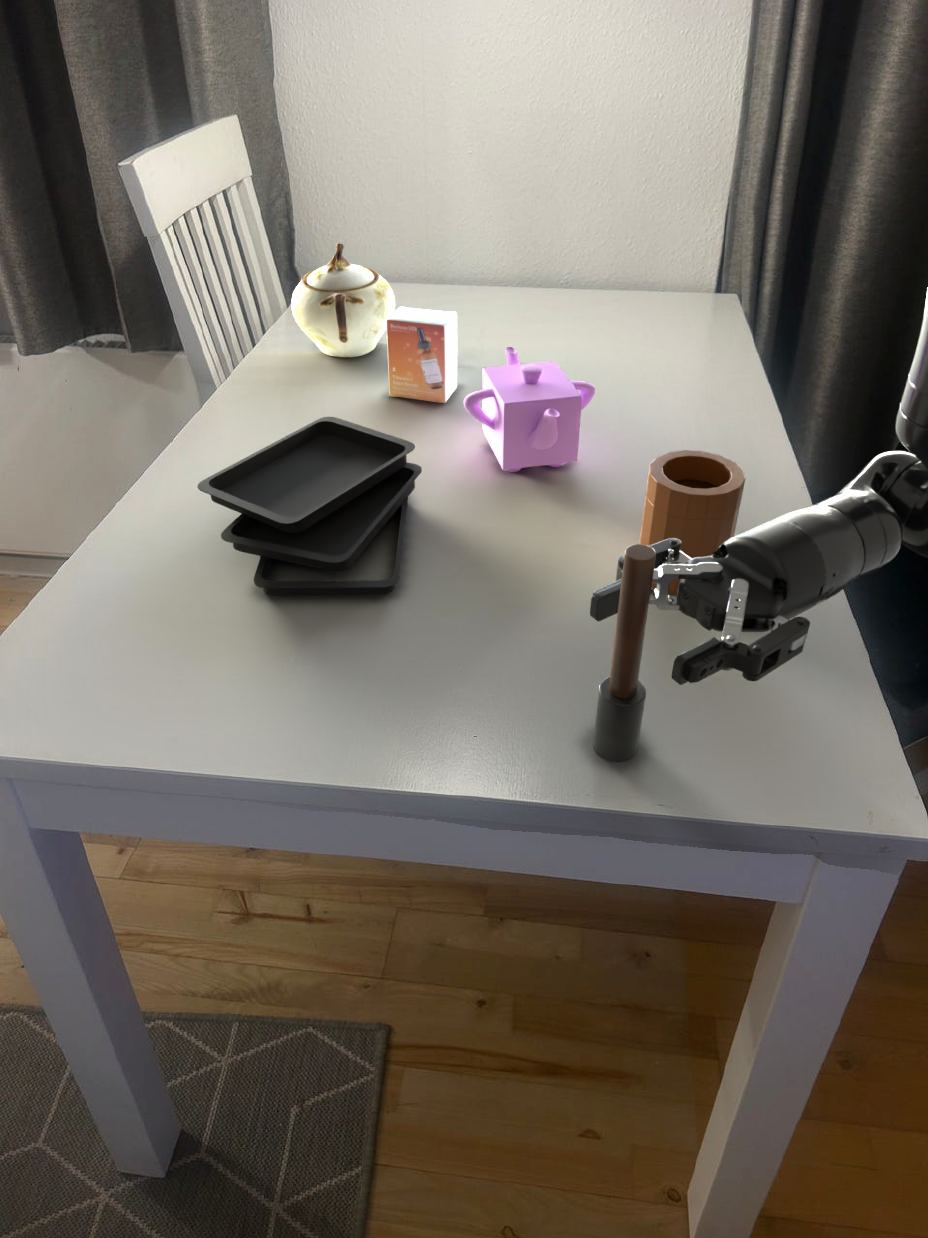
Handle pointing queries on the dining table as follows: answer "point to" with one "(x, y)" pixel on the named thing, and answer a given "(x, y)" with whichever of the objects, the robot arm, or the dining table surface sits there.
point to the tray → (317, 502)
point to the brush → (626, 662)
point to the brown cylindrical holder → (691, 502)
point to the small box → (422, 354)
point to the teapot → (530, 412)
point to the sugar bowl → (343, 307)
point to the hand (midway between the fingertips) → (633, 639)
